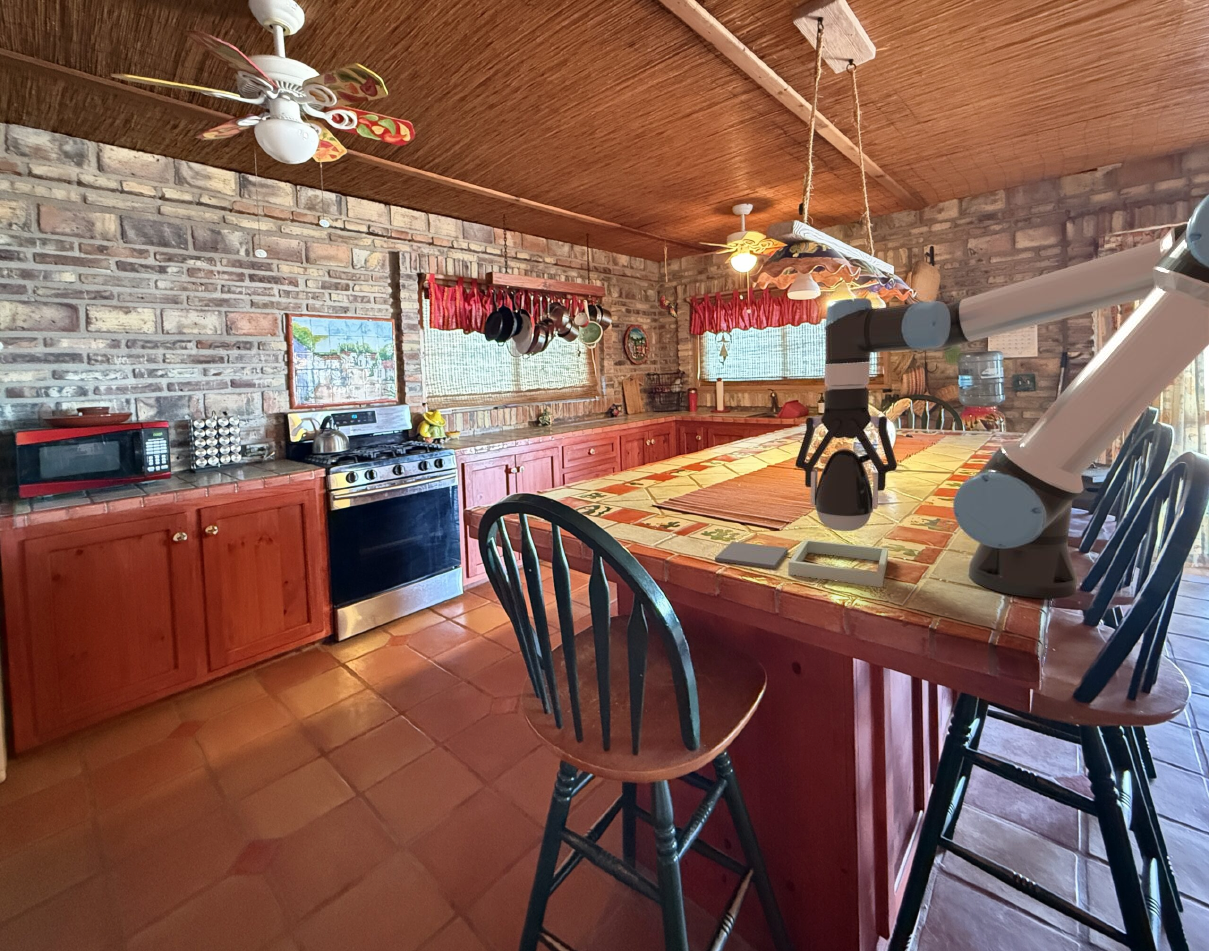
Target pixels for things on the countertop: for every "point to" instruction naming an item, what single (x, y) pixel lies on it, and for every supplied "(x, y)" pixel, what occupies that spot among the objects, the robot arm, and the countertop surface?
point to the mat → (752, 555)
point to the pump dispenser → (844, 492)
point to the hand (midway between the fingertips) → (843, 505)
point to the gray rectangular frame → (836, 572)
